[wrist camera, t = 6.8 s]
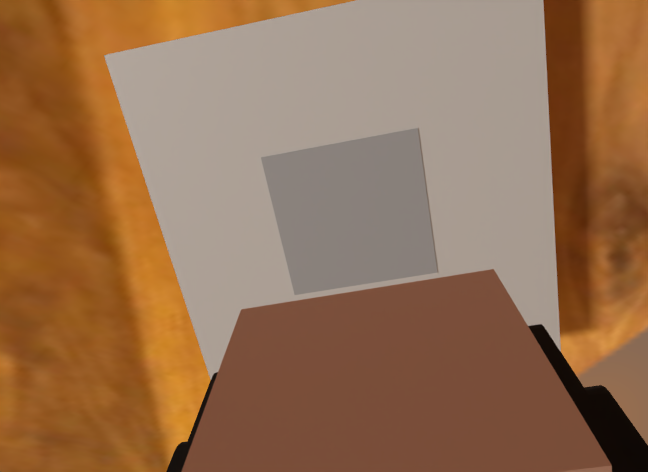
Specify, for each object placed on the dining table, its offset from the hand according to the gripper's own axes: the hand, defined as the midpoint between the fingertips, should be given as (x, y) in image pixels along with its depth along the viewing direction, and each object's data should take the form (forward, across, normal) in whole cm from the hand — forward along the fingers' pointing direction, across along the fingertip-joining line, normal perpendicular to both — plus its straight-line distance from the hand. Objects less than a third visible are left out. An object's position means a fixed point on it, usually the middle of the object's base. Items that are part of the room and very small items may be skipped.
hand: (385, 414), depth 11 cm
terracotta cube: (+1, 0, 0) cm, 1 cm away
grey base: (+18, +1, +1) cm, 18 cm away
